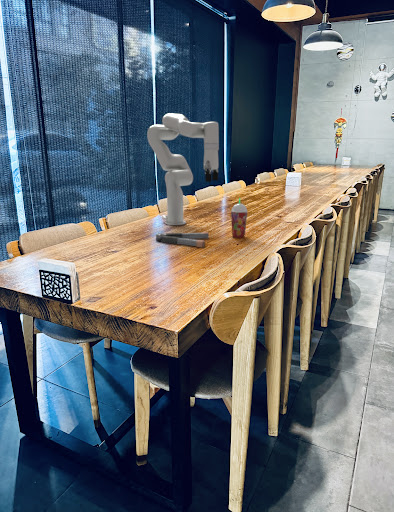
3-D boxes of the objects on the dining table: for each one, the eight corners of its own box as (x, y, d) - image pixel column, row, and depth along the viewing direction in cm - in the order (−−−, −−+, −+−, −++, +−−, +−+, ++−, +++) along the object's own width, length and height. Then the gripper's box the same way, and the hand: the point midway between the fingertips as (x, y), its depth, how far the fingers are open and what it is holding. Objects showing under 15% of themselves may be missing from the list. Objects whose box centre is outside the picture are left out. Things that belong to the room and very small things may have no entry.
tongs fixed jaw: (161, 242, 182) (161, 236, 181) (165, 241, 185) (165, 235, 184) (202, 247, 173) (202, 241, 172) (204, 246, 176) (204, 240, 175)
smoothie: (248, 235, 196) (250, 197, 191) (243, 239, 189) (245, 199, 184) (233, 234, 200) (234, 196, 194) (228, 237, 193) (229, 198, 187)
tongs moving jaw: (156, 241, 184) (156, 235, 183) (155, 239, 189) (155, 233, 188) (209, 239, 188) (209, 233, 187) (207, 237, 193) (207, 231, 192)
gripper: (210, 147, 203) (211, 180, 208) (198, 147, 188) (198, 182, 192) (223, 147, 200) (224, 180, 205) (211, 146, 185) (212, 182, 189)
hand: (211, 181), depth 198 cm, fingers open, 9 cm apart
